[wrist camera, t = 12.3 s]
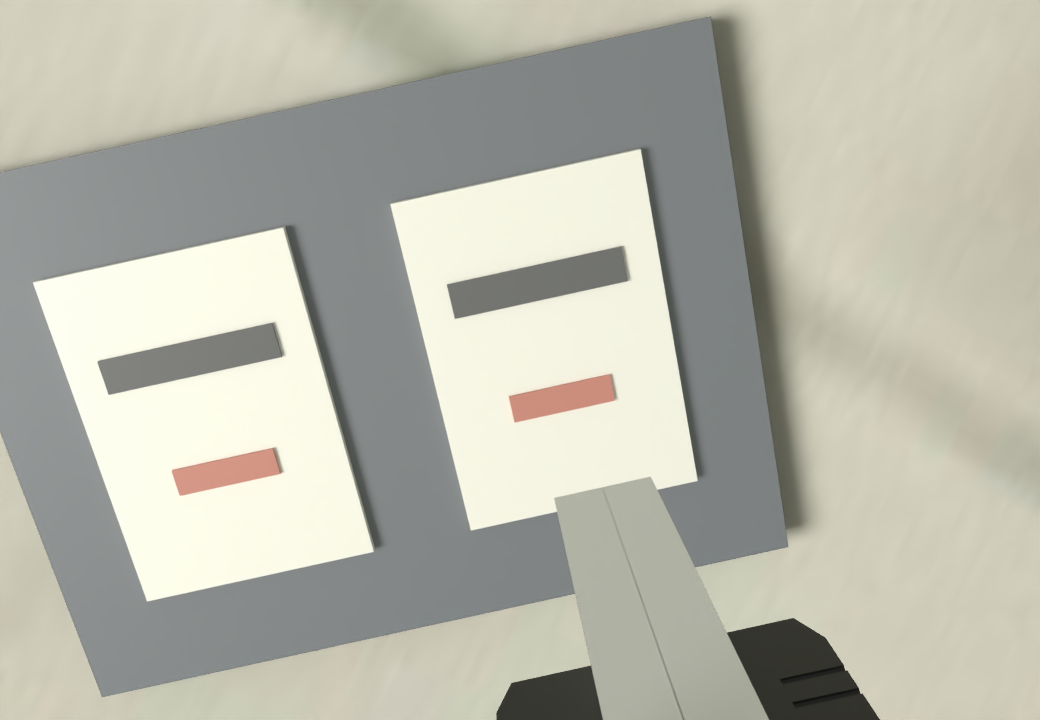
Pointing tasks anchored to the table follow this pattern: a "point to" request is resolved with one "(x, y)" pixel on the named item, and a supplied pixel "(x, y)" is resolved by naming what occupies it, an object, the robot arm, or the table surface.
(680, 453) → the label board
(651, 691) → the robot arm
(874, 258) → the table surface
